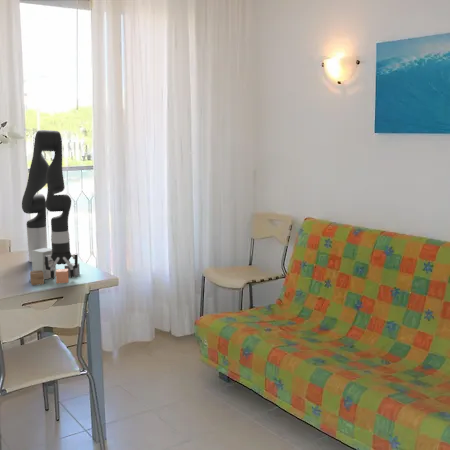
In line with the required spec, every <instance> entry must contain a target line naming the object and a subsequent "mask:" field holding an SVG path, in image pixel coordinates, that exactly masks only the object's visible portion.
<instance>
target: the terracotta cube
mask: <svg viewBox="0 0 450 450" xmlns="http://www.w3.org/2000/svg"><path fill="white" fill-rule="evenodd" d="M69 278H70V277H68V269H65V268H59V269H57V268H56V277H55V282H56V284H65V283H67V284H68V283H69V282H70V281H69V280H70V279H69Z"/></svg>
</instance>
